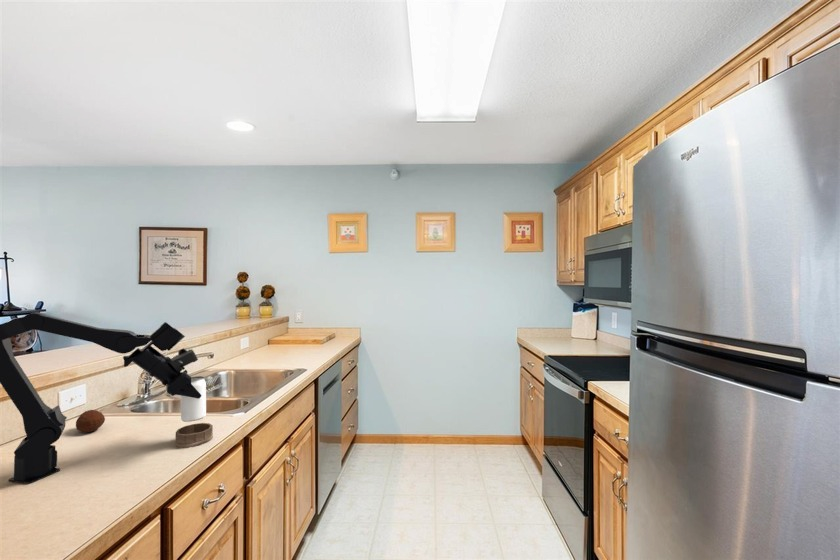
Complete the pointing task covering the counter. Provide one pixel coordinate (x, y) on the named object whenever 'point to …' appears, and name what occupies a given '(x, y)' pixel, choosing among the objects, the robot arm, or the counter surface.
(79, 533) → the counter surface
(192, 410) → the can
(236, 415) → the counter surface
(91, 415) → the potato
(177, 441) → the holder
